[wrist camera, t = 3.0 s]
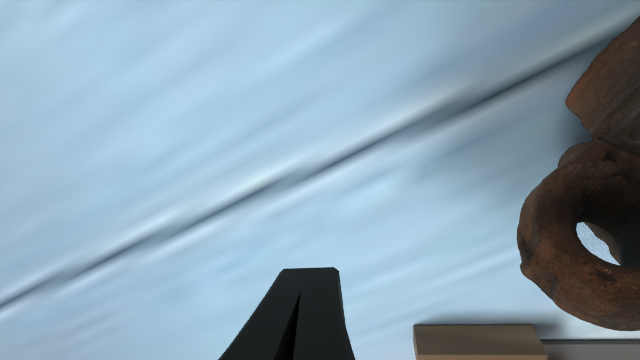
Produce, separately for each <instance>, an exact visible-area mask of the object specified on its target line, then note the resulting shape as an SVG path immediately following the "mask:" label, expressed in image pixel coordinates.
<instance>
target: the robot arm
mask: <svg viewBox="0 0 640 360" xmlns="http://www.w3.org/2000/svg"><path fill="white" fill-rule="evenodd" d="M218 360H355V357H354V354H353V351H352V348H351V344H350V340H349V337H348V333H347V330H346V326H345V318H344V309H343V301H342V293H341V285H340V276H339V271H338V270H337V269H335V268H334V267H327V268H295V269H283V270H282V271H281V272H280V273H279V275H278V277H277V278H276V280H275V281H274V283H273V284H272V286H271V287H270V289H269V290H268V292H267V293H266V295H265V297H264V298H263V299H262V301H261V302H260V304H259V305H258V307H257V308H256V310H255V311H254V313H253V314H252V316H251V317H250V318H249V320H248V321H247V322H246V324H245V325H244V327H243V328H242V329H241V331H240V332H239V333H238V335H237V336H236V338H235V339H234V340H233V342H232V343H231V344H230V346H229V347H228V348H227V349H226V351H225V352H224V353H223V354H222V356H221V357H220V358H219V359H218Z"/></svg>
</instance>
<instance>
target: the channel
mask: <svg viewBox="0 0 640 360" xmlns="http://www.w3.org/2000/svg"><path fill="white" fill-rule="evenodd" d="M413 342H414V349H415V355H416V360H547V357H548V354H547V353H546V351H545V349H544V347H543V345H542V343H541V341H540V339H539V337H538V335H537V333H536V331H535V329H534V327H533V325H417V326H413Z"/></svg>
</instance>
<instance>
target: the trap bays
mask: <svg viewBox="0 0 640 360" xmlns="http://www.w3.org/2000/svg"><path fill="white" fill-rule="evenodd" d="M541 343H542V345H543V347H544V349H545V351H546V353H547V354H548V357H547V360H640V340H602V341H541Z"/></svg>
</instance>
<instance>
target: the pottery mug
mask: <svg viewBox="0 0 640 360" xmlns="http://www.w3.org/2000/svg"><path fill="white" fill-rule="evenodd" d="M566 106H567V107H568V108H569V109H570V110H571V111H572V112H573V113H574V114H575V115H577V116H578V117H579V118H580V119H581V123H582V125H583V126H584V127H585V128H586V129H587V130H588V131H589V132H590V134H591V137H592V138H593V141H592V142H588V143H582V144H578V145H575V146H572V147H570V148H569V149H568V150H567V151H566V152H565V153H564V154H563V155H562V156H561V158H560V160H559V163H558V168H557V169H555V170H554V171H553V172H552V173H550V174H549V175H548V176H547V177H546V178H544V179H543V180H542V182H541V183H540V184H539V185H538V186H537V187H536V188H535V189H534V190H533V191H532V192H531V193H530V194H529V195H528V197H527V198H526V200H525V202H524V204H523V206H522V209H521V213H520V220H519V225H518V228H517V243H518V249H519V251H520V255H521V260H522V263H521V265H520V269H521V272H522V273H523V275H524V276H525V277H527V278H528V279H529V280H531V281H532V282H534V283H535V284H536V285H537V286H538V287H539V288H540V289H541V290H542V291H543V292H544V293H545V294H546V295H547V296H548V297H549V298H550V299H552V300H553V301H554V302H555V304H556V305H557V306H558V307H559V308H561V309H562V310H564V311H565V312H567V313H569V314H571V315H573V316H575V317H577V318H579V319H581V320H583V321H586V322H589V323H592V324H594V325H597V326H600V327H603V328H608V329H612V330H617V331H639V330H640V16H639V17H638V18H637V19H636V20H635V21H634V23H633V24H632V25H631V26H630V27H629V28H627V29H626V30H625V31H624V32H623V33H621V34H620V35H619V36H617V37H616V38H615V39H613V40H612V41H611V42H610V43H609V44H608V46H607V47H606V48H605V49H604V50H603V51H601V52H600V53H599V54H598V55H597V57H596V58H595V59H594V60H593V62H592V63H591V64H590V66H589V68H588V69H587V71H586V72H585V73H584V74H583V75H582V76H581V77H580V79H579V80H578V81H577V83H576V84H575V86H574V88H573V89H572V90H571V92H570V94H569V95H568V97H567V99H566ZM580 222H584V223H585V224H586V225H587V226H588V227H589V228H590V229H591V231H592V232H593V233H594V234H595V236H596V237H598V238H599V239H601V240H602V241H604V242H605V243H606V244H607V245H608V247H609V251H610V254H611V255H612V256H613V257H614V259H615V260H616V261H617V262H618V263H619V264H620V265H621V266H619V265H615V264H612V263H609V262H606V261H604V260H602V259H600V258H599V257H597V256H595V255H594V254H592V253H591V252H589V251H588V250H587V249H586V248H585V247H584V245H583V244H582V243H581V241H580V239H579V238H578V236H577V232H576V226H577V223H580Z"/></svg>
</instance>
